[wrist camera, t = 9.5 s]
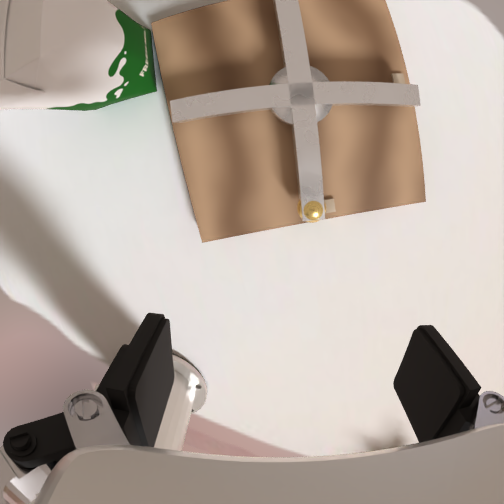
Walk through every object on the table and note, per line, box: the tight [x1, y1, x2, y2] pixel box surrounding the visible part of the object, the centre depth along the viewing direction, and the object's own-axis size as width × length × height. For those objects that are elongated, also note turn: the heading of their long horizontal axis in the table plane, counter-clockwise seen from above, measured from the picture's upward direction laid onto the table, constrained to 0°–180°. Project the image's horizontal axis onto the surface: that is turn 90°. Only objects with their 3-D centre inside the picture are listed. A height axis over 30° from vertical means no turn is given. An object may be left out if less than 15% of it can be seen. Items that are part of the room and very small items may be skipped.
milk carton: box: [0, 0, 157, 111], centre depth 15 cm, size 9×9×20 cm
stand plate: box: [151, 0, 426, 243], centre depth 24 cm, size 22×22×2 cm
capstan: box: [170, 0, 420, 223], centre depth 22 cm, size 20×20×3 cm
